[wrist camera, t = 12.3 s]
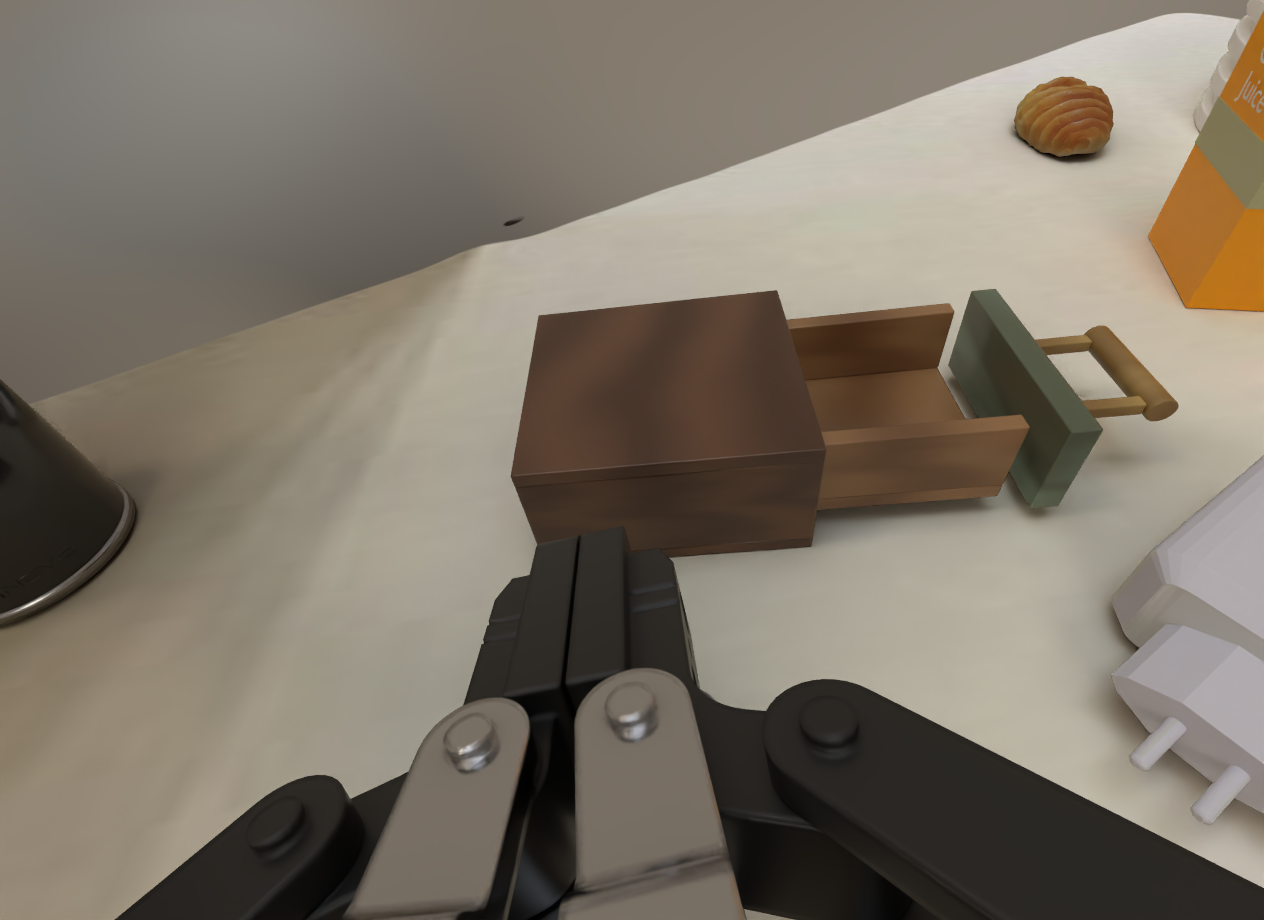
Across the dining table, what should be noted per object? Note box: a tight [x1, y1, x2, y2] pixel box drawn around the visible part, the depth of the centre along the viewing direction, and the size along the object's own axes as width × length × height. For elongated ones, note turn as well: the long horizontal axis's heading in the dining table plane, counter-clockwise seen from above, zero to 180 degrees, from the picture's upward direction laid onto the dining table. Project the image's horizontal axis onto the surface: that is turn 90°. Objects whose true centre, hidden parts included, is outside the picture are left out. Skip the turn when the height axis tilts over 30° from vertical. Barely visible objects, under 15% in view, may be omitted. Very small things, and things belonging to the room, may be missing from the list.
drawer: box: [786, 289, 1178, 510], centre depth 29 cm, size 16×10×5 cm, turn 90°
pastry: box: [1014, 77, 1114, 157], centre depth 52 cm, size 9×7×4 cm
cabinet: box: [511, 290, 826, 557], centre depth 30 cm, size 12×11×6 cm
